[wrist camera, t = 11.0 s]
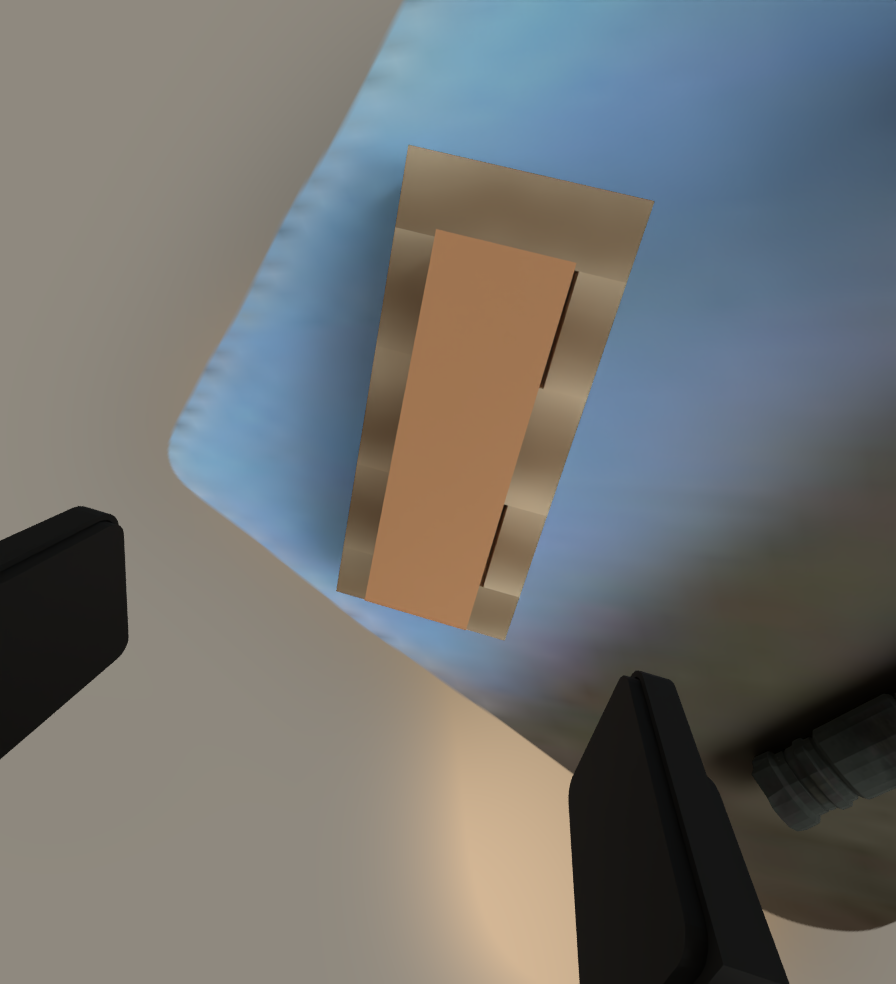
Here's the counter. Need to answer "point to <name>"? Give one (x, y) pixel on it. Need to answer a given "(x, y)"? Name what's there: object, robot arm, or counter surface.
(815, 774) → the flashlight
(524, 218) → the slotted tan block
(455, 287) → the tan wedge board
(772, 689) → the counter surface
